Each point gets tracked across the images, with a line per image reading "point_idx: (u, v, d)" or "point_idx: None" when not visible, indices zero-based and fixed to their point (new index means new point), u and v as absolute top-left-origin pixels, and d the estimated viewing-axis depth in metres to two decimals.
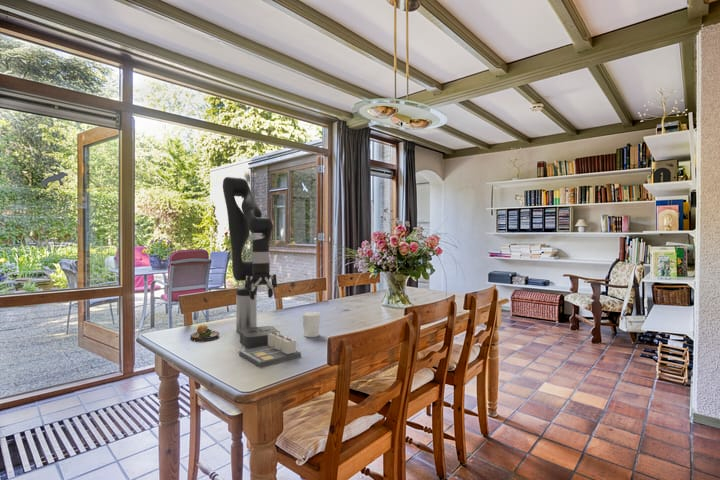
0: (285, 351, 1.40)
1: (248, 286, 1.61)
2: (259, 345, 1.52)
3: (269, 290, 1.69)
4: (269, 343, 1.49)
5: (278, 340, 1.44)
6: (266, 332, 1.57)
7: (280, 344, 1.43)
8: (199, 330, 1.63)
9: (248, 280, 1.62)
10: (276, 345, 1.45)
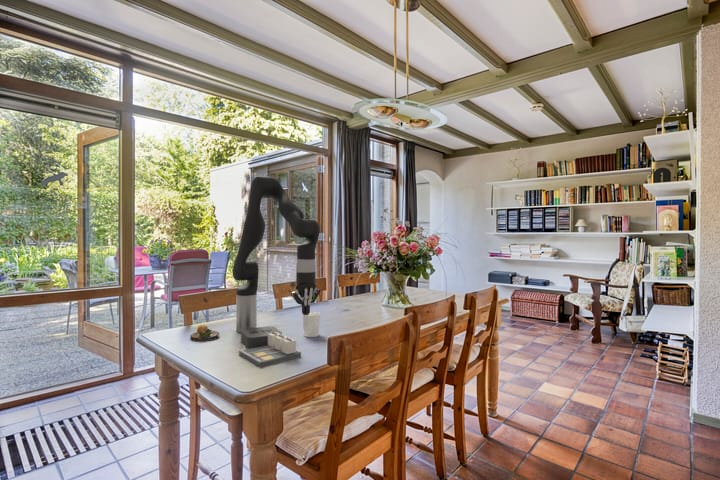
0: (285, 351, 1.40)
1: (300, 301, 1.43)
2: None
3: None
4: (269, 343, 1.49)
5: (278, 340, 1.44)
6: (268, 332, 1.56)
7: (280, 344, 1.43)
8: (199, 330, 1.63)
9: (296, 296, 1.42)
10: (276, 345, 1.45)
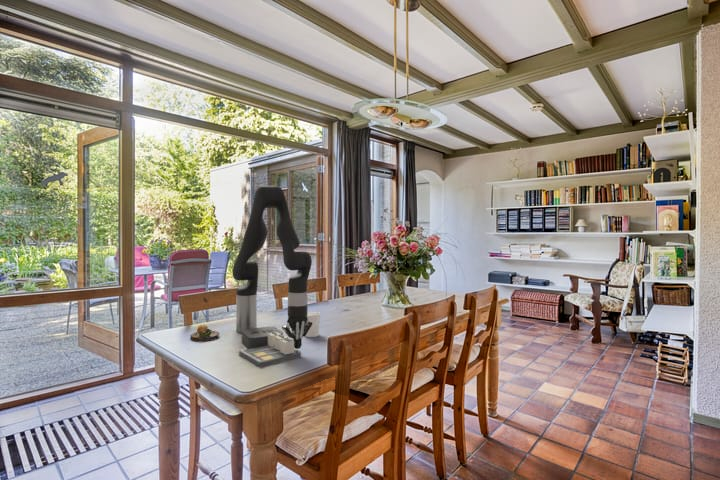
0: (283, 351, 1.39)
1: (291, 335, 1.41)
2: None
3: None
4: (269, 343, 1.49)
5: (278, 340, 1.44)
6: None
7: None
8: (199, 330, 1.63)
9: (287, 331, 1.40)
10: (276, 345, 1.45)
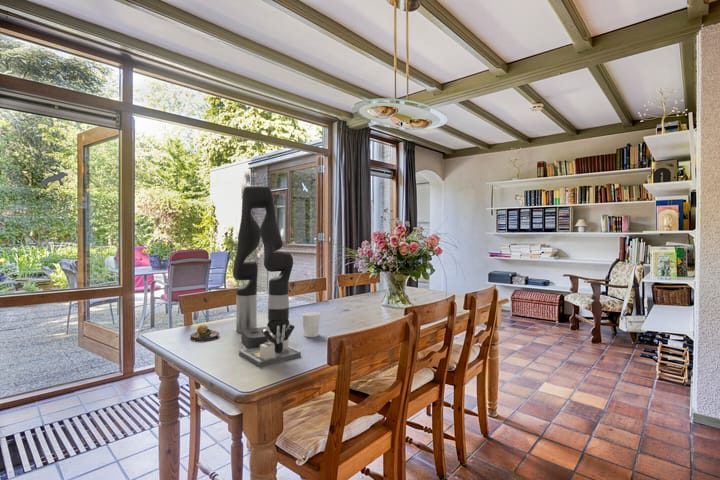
0: (263, 356, 1.34)
1: (271, 339, 1.35)
2: None
3: None
4: None
5: None
6: None
7: None
8: (199, 330, 1.63)
9: (267, 335, 1.34)
10: None
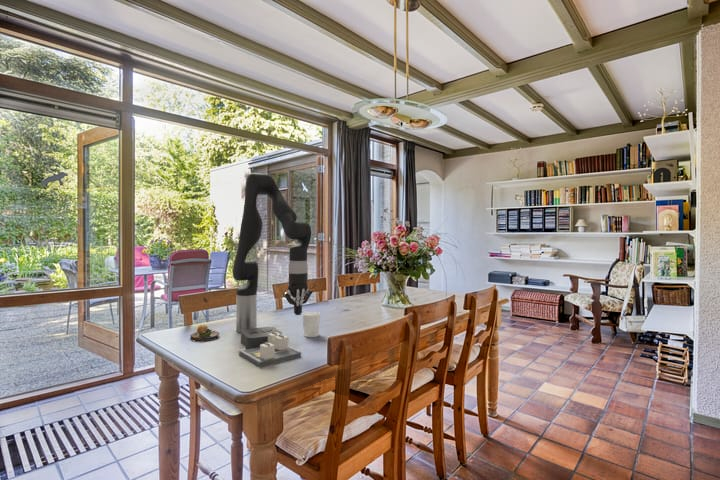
0: (263, 356, 1.34)
1: (292, 302, 1.47)
2: None
3: None
4: None
5: (278, 340, 1.44)
6: (268, 333, 1.56)
7: (280, 344, 1.43)
8: (199, 330, 1.63)
9: (288, 297, 1.46)
10: (276, 345, 1.45)
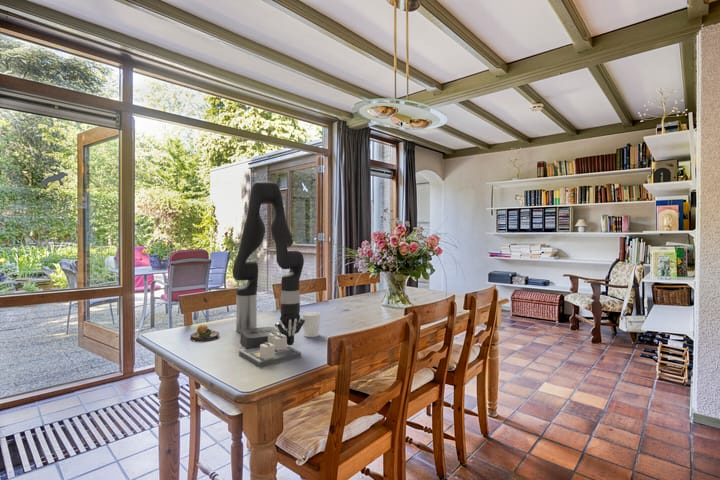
0: (263, 356, 1.34)
1: (284, 332, 1.45)
2: None
3: None
4: None
5: (276, 340, 1.43)
6: (267, 333, 1.56)
7: (278, 344, 1.43)
8: (199, 330, 1.63)
9: (280, 328, 1.44)
10: None
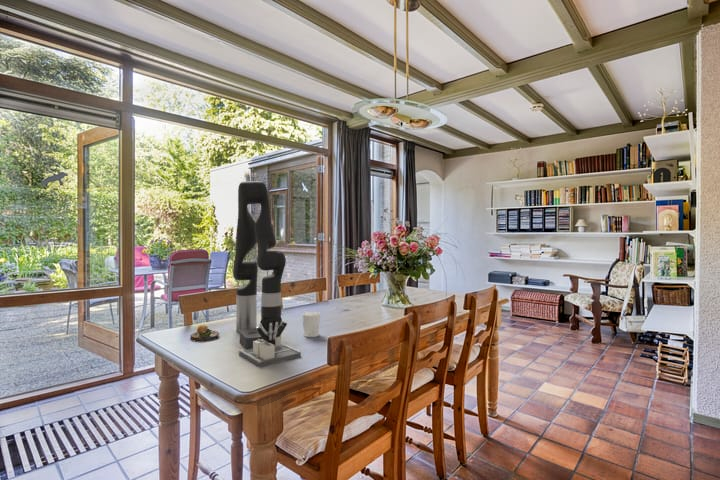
0: (263, 356, 1.34)
1: (264, 336, 1.40)
2: None
3: None
4: None
5: (256, 345, 1.38)
6: None
7: (258, 349, 1.37)
8: (199, 330, 1.63)
9: (260, 331, 1.38)
10: (254, 350, 1.39)
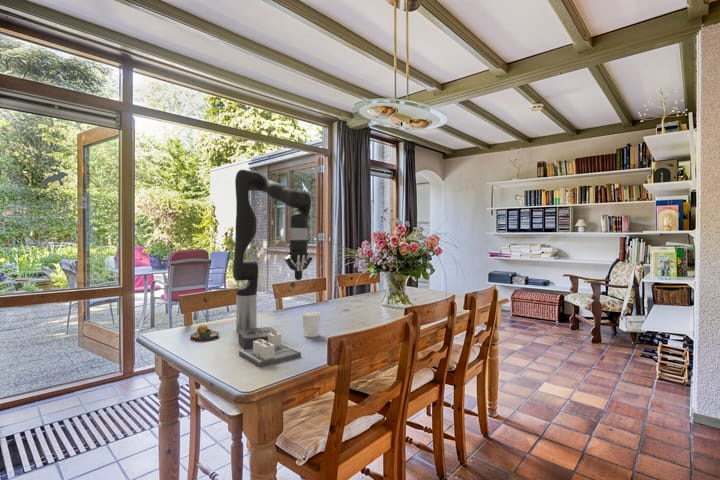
0: (263, 356, 1.34)
1: (293, 267, 1.55)
2: None
3: None
4: None
5: (256, 345, 1.38)
6: (265, 333, 1.55)
7: (258, 349, 1.37)
8: (199, 330, 1.63)
9: (289, 262, 1.54)
10: (254, 350, 1.39)
